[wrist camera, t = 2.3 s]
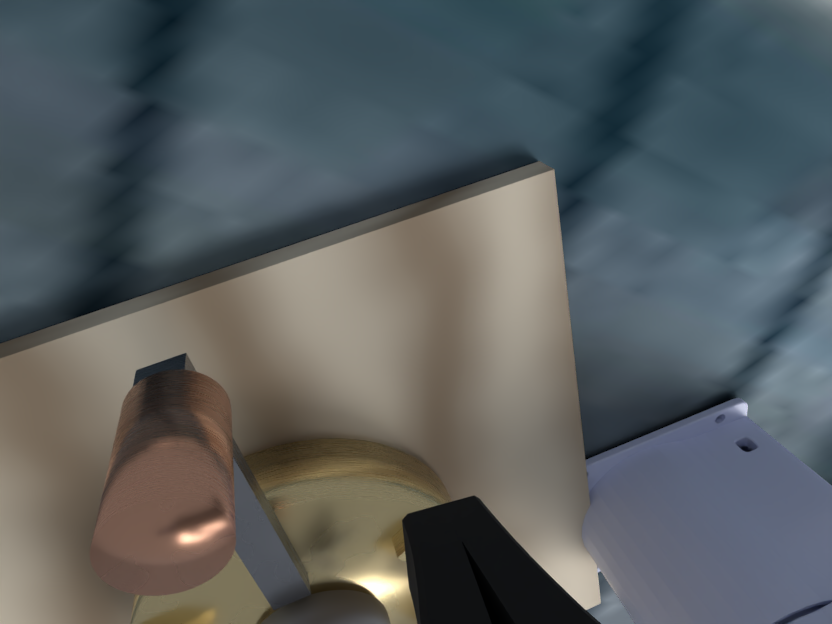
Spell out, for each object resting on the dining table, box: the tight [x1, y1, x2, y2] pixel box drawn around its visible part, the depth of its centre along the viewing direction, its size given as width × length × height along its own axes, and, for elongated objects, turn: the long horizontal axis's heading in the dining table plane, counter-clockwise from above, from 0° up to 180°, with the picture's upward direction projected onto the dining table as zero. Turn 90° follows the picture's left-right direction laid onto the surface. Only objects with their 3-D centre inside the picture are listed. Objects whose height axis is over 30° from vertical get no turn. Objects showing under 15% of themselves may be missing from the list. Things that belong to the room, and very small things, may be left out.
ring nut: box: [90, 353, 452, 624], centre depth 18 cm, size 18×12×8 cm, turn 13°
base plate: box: [0, 161, 601, 624], centre depth 21 cm, size 24×24×6 cm
